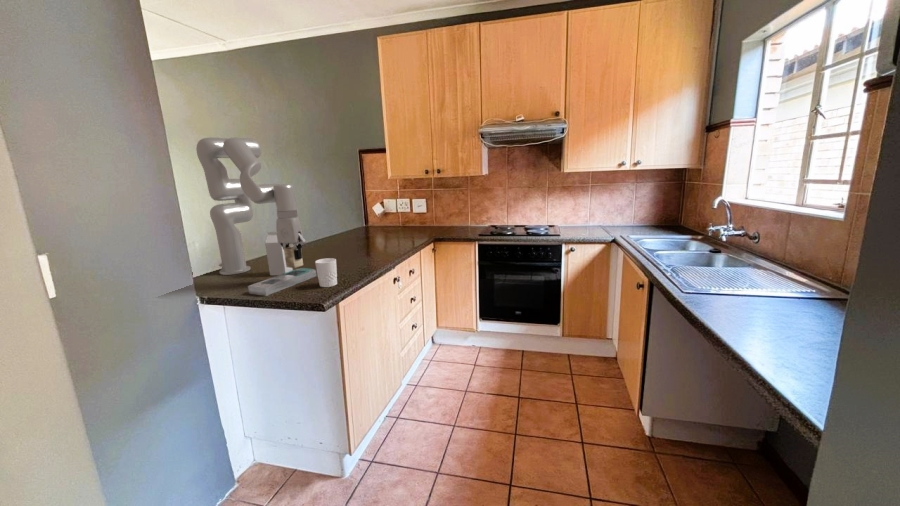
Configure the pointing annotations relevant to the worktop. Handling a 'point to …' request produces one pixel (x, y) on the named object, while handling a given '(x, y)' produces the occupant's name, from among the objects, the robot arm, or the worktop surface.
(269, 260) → the milk carton
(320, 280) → the white cup
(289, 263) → the maple block
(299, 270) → the white flat bar
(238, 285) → the worktop surface
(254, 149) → the robot arm
